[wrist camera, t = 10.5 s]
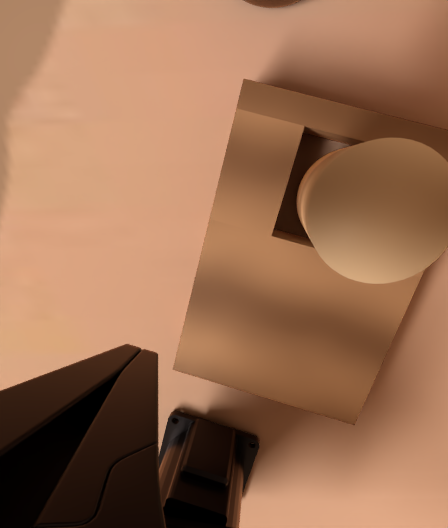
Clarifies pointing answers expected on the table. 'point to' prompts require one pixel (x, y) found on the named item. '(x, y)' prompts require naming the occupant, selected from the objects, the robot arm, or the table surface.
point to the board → (288, 268)
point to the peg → (377, 209)
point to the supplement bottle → (272, 3)
